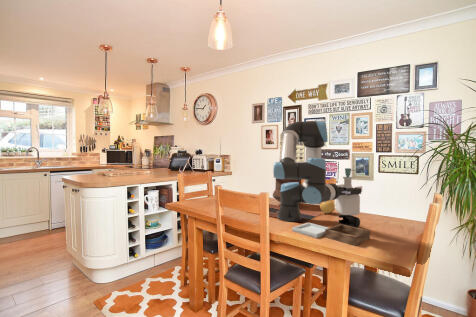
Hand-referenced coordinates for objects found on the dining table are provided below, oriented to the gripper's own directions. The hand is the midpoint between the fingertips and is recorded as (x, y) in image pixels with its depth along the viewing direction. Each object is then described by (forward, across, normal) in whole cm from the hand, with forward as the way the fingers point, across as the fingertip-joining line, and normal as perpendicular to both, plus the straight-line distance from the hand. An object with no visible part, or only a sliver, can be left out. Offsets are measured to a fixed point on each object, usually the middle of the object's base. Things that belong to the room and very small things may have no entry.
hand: (352, 187), depth 129 cm
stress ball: (+35, -34, -25) cm, 54 cm away
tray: (-9, -17, -25) cm, 32 cm away
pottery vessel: (+35, -68, -25) cm, 81 cm away
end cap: (+16, -9, -25) cm, 31 cm away
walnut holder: (-5, 0, -25) cm, 25 cm away
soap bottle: (-5, 0, -13) cm, 14 cm away
